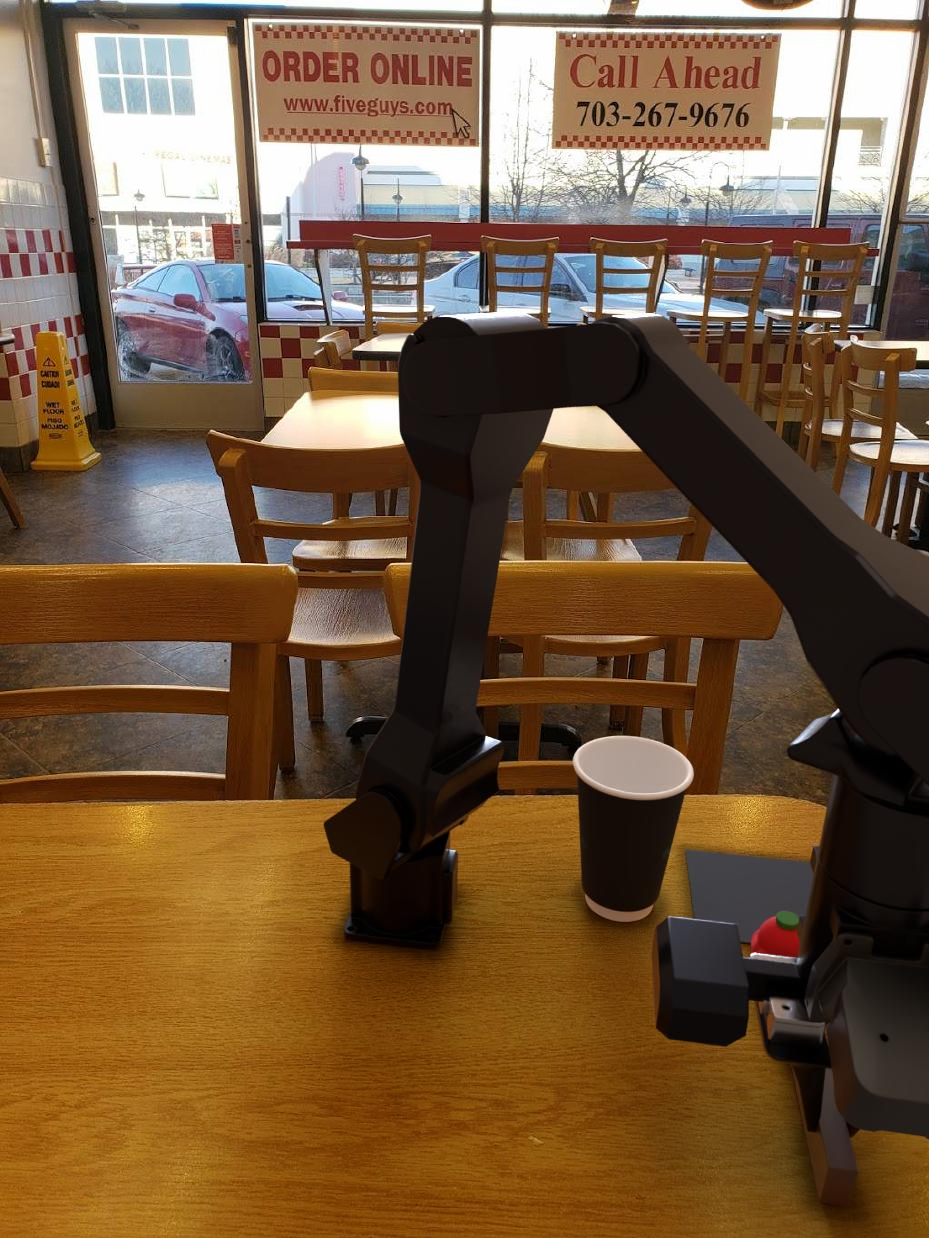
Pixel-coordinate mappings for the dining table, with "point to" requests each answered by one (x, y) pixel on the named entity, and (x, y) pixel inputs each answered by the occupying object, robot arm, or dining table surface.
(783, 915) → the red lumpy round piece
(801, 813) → the dining table surface
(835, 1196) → the fork
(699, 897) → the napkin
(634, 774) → the dixie cup
